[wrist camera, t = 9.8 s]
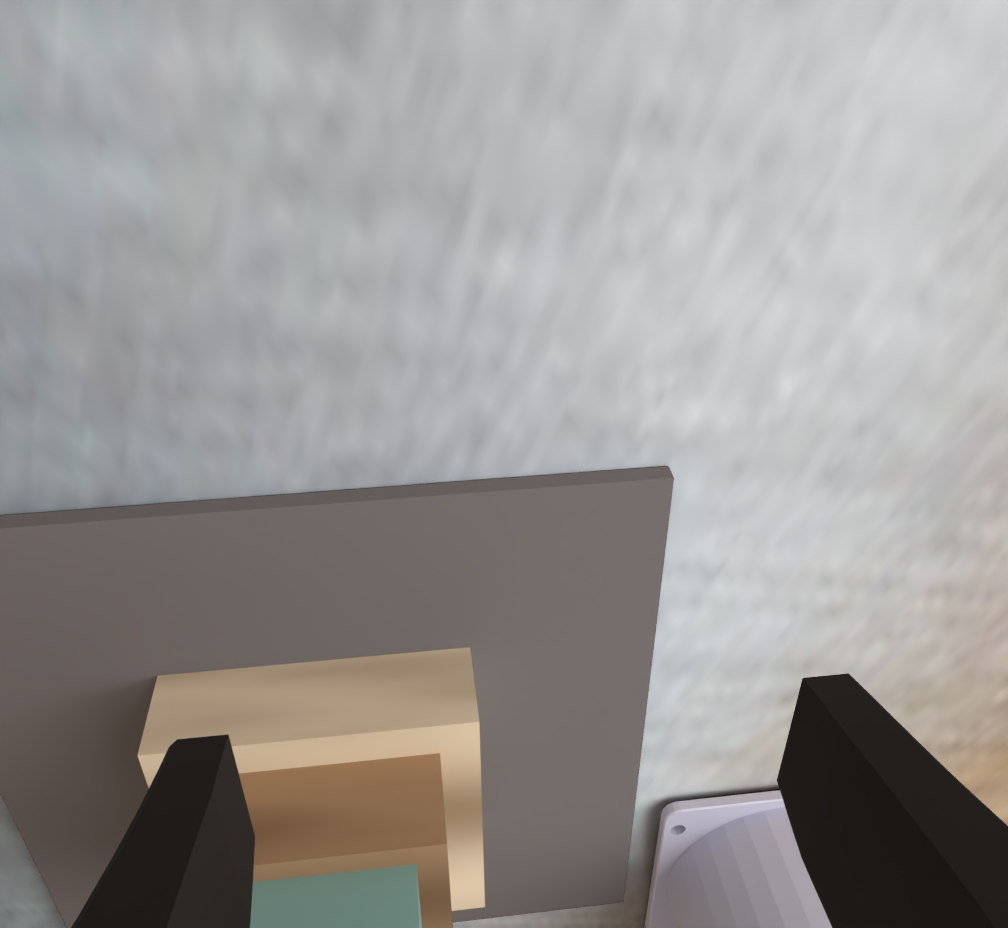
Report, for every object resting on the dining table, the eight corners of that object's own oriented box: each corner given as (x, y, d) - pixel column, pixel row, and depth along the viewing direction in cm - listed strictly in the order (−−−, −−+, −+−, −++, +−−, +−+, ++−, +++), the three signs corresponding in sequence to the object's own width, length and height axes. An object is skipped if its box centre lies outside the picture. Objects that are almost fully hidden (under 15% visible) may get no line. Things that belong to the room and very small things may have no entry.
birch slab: (476, 830, 29) (485, 907, 27) (214, 859, 28) (202, 940, 26) (470, 647, 24) (479, 721, 22) (157, 675, 24) (137, 755, 22)
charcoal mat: (620, 888, 33) (623, 902, 32) (89, 951, 31) (86, 966, 30) (668, 466, 22) (673, 477, 22) (-117, 524, 21) (-126, 537, 20)
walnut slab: (449, 891, 26) (456, 981, 24) (233, 916, 26) (220, 1010, 24) (439, 753, 23) (447, 843, 21) (190, 778, 22) (172, 874, 20)
